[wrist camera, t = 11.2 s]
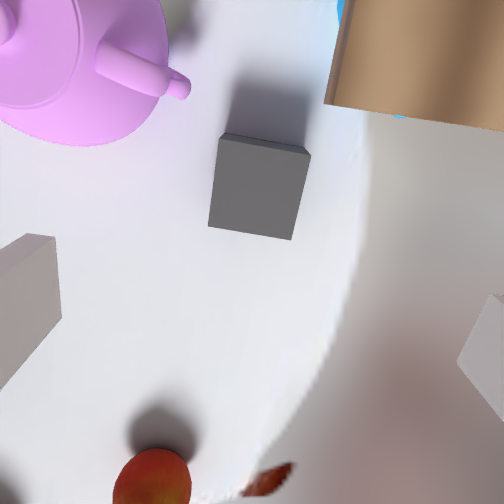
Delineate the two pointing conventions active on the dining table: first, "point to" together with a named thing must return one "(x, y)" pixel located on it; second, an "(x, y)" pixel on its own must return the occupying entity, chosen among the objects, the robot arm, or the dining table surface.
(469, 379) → the robot arm
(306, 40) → the dining table surface
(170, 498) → the fruit
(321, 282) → the dining table surface
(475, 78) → the block
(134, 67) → the teapot
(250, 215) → the block
